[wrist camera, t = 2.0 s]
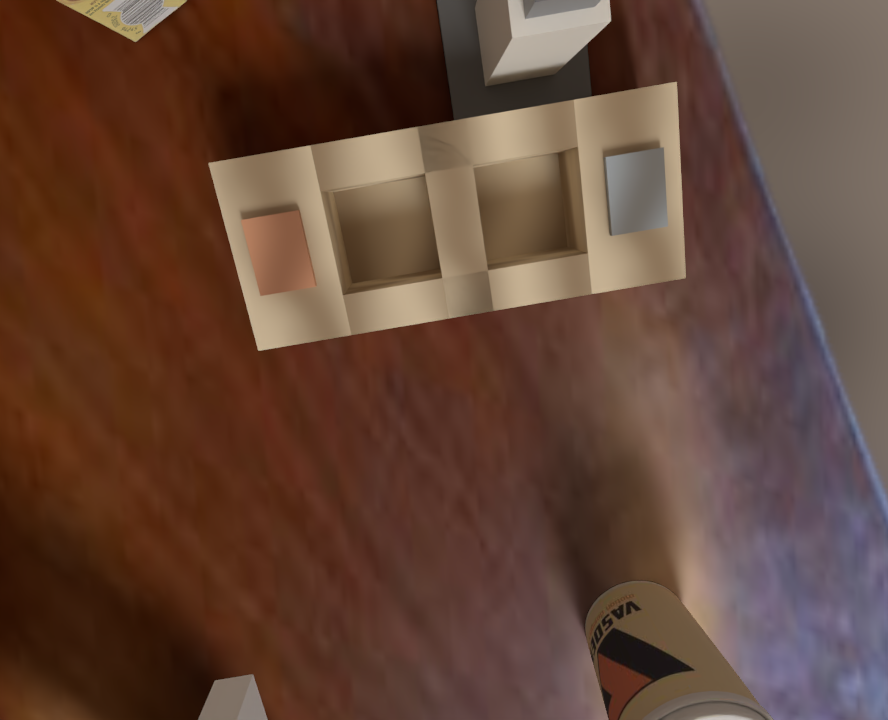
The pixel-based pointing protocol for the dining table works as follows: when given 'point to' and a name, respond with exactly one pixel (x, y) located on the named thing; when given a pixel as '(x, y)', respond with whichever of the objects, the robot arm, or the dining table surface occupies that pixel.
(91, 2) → the candy box
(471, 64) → the mat
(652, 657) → the white lidded canister
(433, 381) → the dining table surface
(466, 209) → the socket block
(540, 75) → the plug
